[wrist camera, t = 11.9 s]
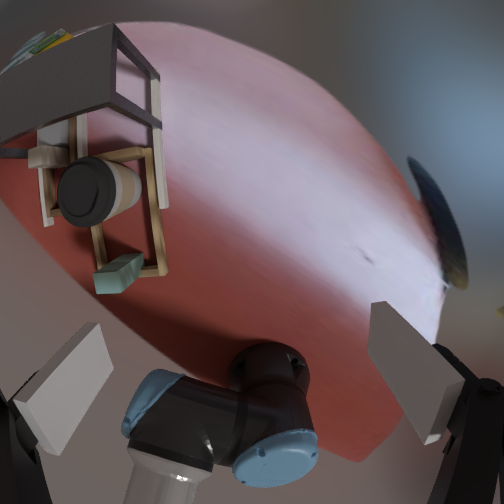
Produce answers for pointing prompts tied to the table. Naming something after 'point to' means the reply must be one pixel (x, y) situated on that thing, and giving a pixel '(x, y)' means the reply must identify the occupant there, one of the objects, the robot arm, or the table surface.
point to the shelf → (68, 86)
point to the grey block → (55, 135)
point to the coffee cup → (96, 191)
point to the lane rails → (158, 151)
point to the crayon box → (59, 38)
